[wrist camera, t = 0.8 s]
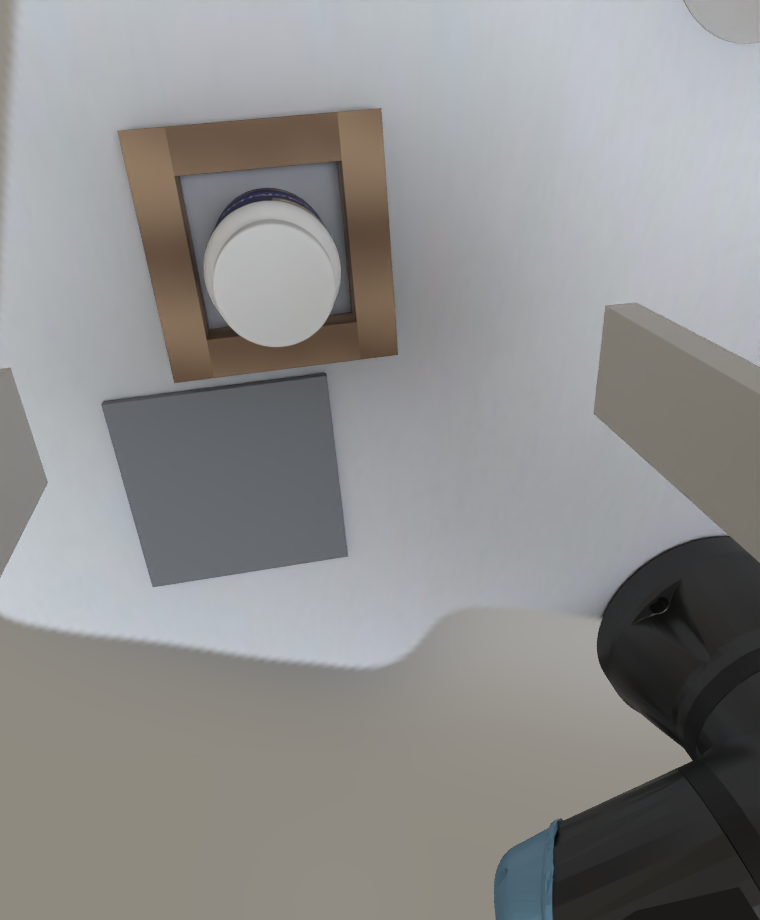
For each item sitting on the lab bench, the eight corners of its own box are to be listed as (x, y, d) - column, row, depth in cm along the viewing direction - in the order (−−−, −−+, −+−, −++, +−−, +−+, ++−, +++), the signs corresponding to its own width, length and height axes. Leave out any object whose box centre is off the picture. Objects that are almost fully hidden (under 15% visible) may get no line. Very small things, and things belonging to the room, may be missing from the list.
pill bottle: (323, 183, 34) (347, 205, 25) (330, 299, 36) (355, 355, 27) (204, 189, 33) (186, 213, 24) (220, 307, 36) (209, 367, 27)
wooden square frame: (391, 343, 38) (397, 354, 36) (178, 370, 37) (174, 383, 35) (374, 108, 33) (381, 108, 31) (125, 130, 31) (117, 130, 30)
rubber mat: (346, 551, 43) (347, 556, 43) (154, 582, 42) (152, 587, 42) (325, 373, 38) (326, 376, 38) (103, 401, 37) (101, 404, 36)
